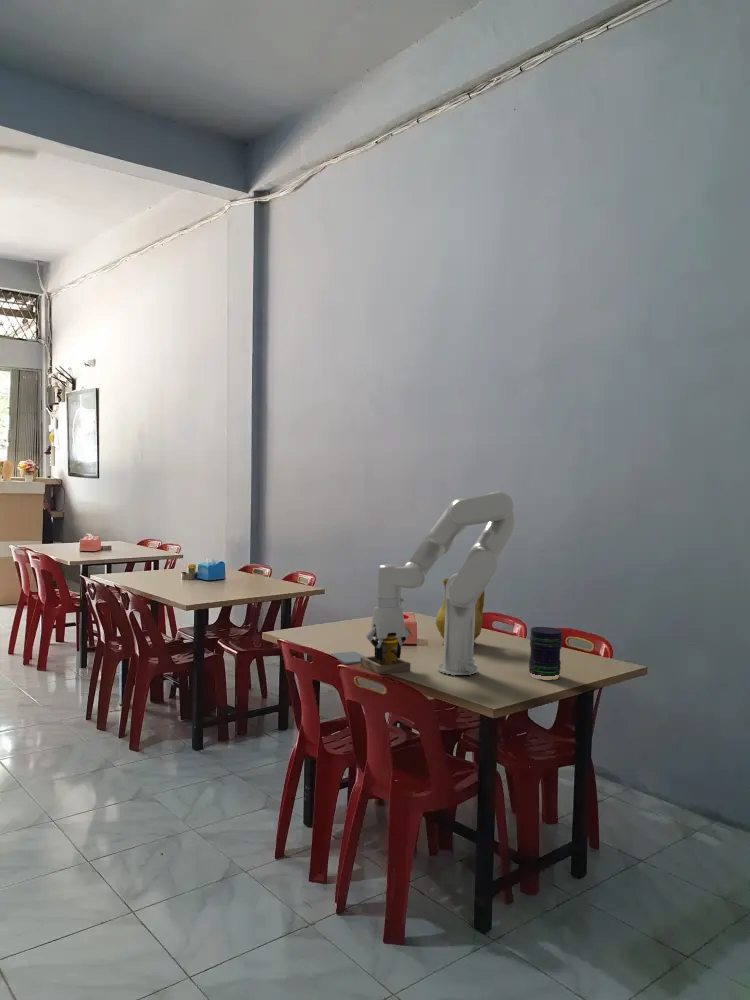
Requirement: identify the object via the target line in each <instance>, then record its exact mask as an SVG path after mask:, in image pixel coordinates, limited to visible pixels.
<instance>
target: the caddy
mask: <svg viewBox="0 0 750 1000" xmlns="http://www.w3.org/2000/svg"><path fill="white" fill-rule="evenodd" d="M411 664H412V663H410V662H408V661H406V660H404V659H402V658H401V657H400V658H397V664H387V665H380V664H378V660H377V659H375V655H372V656H365V657H361V663H360V666H362V667H363V668H366V669H368V670H370V671H372V672H374V673H376V674H377V675H385V674H395V673H403V672H404V673H406V672H411Z"/></svg>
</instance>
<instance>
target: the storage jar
mask: <svg viewBox="0 0 750 1000" xmlns="http://www.w3.org/2000/svg"><path fill="white" fill-rule="evenodd" d="M562 633H563V631H562V630H561V629H558V628H555V627H548V626H534V627H531V628H530V636H529V640H530V642H529V646H530V655H529V656H530V657H529V659H528V671H529V672H530V673H532V674H535V675H541V676H555V675H559V676H560V674H561V664H562V663H561V662H562V660H561V649H562V647H563V646H562V642H563V639H562ZM529 672H528V673H529Z"/></svg>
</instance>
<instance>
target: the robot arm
mask: <svg viewBox="0 0 750 1000" xmlns="http://www.w3.org/2000/svg"><path fill="white" fill-rule="evenodd" d="M513 509H514V502H513V499H512V498H511V496H510V495H508V493H506V492H502V491H492V492H490V493H488V494H483V495H479V496H473V497H467V498H466V497H465V498H463V497H460V498H459V497H458V498H455V499H454V500H452V501H451V503H450V504H449V505H448V507H446V509H445V510H444V512H443V513H442V515H440V517H439V518H438V520H437V521H436V522H435V524H434V525H433V526H432V528H431V529H430V531H429V532H428V533H427V535H426V536H425V538H423V539H422V540H423V541H422V542H421V543H420V545H419V546H418V547H417V548H416V549H415V551H414V552H413V554H412V555H411V556H410V558H409V559H408V561H407V562H406V563H405V564H404V566H400V565H398V564H393V563H384V564H380V565H379V566H378V567H377V586H376V587H377V589H376V590H377V591H376V593H377V594H376V597H377V599H376V600H377V601H376V606H374V608H373V613H372V619H371V627H370V629H371V630H369V632H368V633H367V634H366V635H365V637H366V639H367V640H368V641H369V642H370V644H372V647H374V656H375V659H377V660H382V648H380V646H381V644H382V641H383V639H386V638H387V634H388V633H396V637H397V640H398V647H397V658H400V659H401V653H402V646H403V643H404V642H405V641H406V639H407V638H408V637H409V636H410V632H409V631H408V629H407V628H406V627H405V618H404V611H403V607H402V606H401V604H402V603H404V602H405V600H404V598H403V597H402V598H401V593H402V592H401V590H402V589H403V588H404V589H407V590H416V589H420V588H421V587H423V585H424V584H425V581H426V575H427V574H428V573H429V571H430V570H431V568H432V567H433V566H434V565H435V564H436V562H437V561H438V560H439V559H440V558H441V557H442V556H443V555H445V554H447V552H449V550H450V549H451V548H452V547H453V546H454V544H455V543H456V542H457V540H458V539H459V537H460V536H461V535H462V533H464V530H465V529H466V528H467V526H474V525H479V524H485V523H486V525H485V527H484V528H483V531H482V532H481V534H480V535H479V537H478V538H477V540H476V541H475V542H474V544H473V546H471V548H470V549H469V551H468V552H467V554H466V555H465V562H464V563H463V565H462V566H461V568H460V569H459V571H458V572H456V573H454V574H452V575H451V577H450V576H449V577H450V578H449V577H448V578H449V580H448V581H447V584H446V608H445V631H444V639H443V642H444V645H443V654H442V655H443V659H442V660H443V661H442V664H439V665H438V666H437V670H438V672H440V673H441V672H442V674H444V673H446V675H448V674H451V675H450V676H455V675H470V674H474V673H476V672H477V673H478V669H479V667H478V666H477V665H475V659H474V648H475V647H474V645H475V644H474V642H475V641H474V627H475V602H476V601H477V599H478V598H479V597H480V595H481V594H482V592H483V591H484V592H485V590H486V588H487V587H488V585H489V584H490V583H491V581H492V579H493V577H494V576H495V574H496V572H497V569H498V567H499V561H498V560H499V559H498V558H499V557H500V555H501V554H502V553H503V551H504V549H505V547H506V545H507V544H508V542H509V540H510V539H511V536H513V535H512V534H513V532H514V527H515V515H514V514H515V513H514V510H513ZM477 673H476V674H477ZM474 675H475V674H474ZM470 676H471V675H470Z"/></svg>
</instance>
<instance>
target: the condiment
mask: <svg viewBox="0 0 750 1000" xmlns="http://www.w3.org/2000/svg"><path fill="white" fill-rule="evenodd" d="M397 647H398V640H397V637H396V633H388V634H387V638H386V639H383V641H382V644H381V646H380V648H382V660H378V664H380V665H387V664H397Z"/></svg>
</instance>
